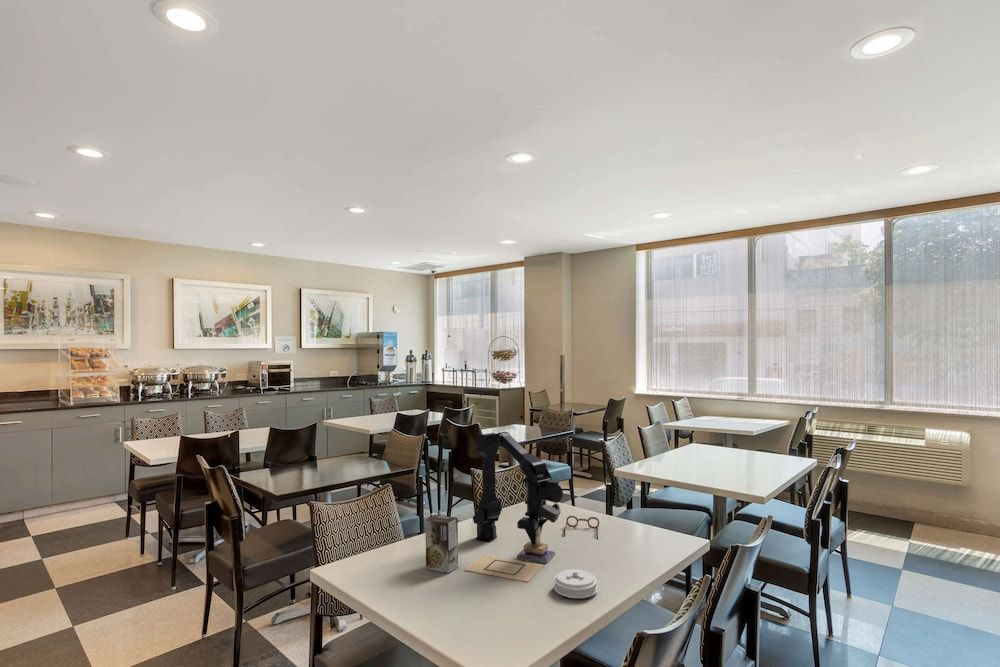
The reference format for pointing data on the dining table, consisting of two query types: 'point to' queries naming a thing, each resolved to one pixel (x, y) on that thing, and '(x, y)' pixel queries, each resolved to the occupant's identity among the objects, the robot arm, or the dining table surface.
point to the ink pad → (536, 556)
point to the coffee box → (441, 543)
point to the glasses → (581, 520)
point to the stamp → (536, 546)
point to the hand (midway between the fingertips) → (535, 542)
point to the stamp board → (505, 568)
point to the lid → (575, 584)
